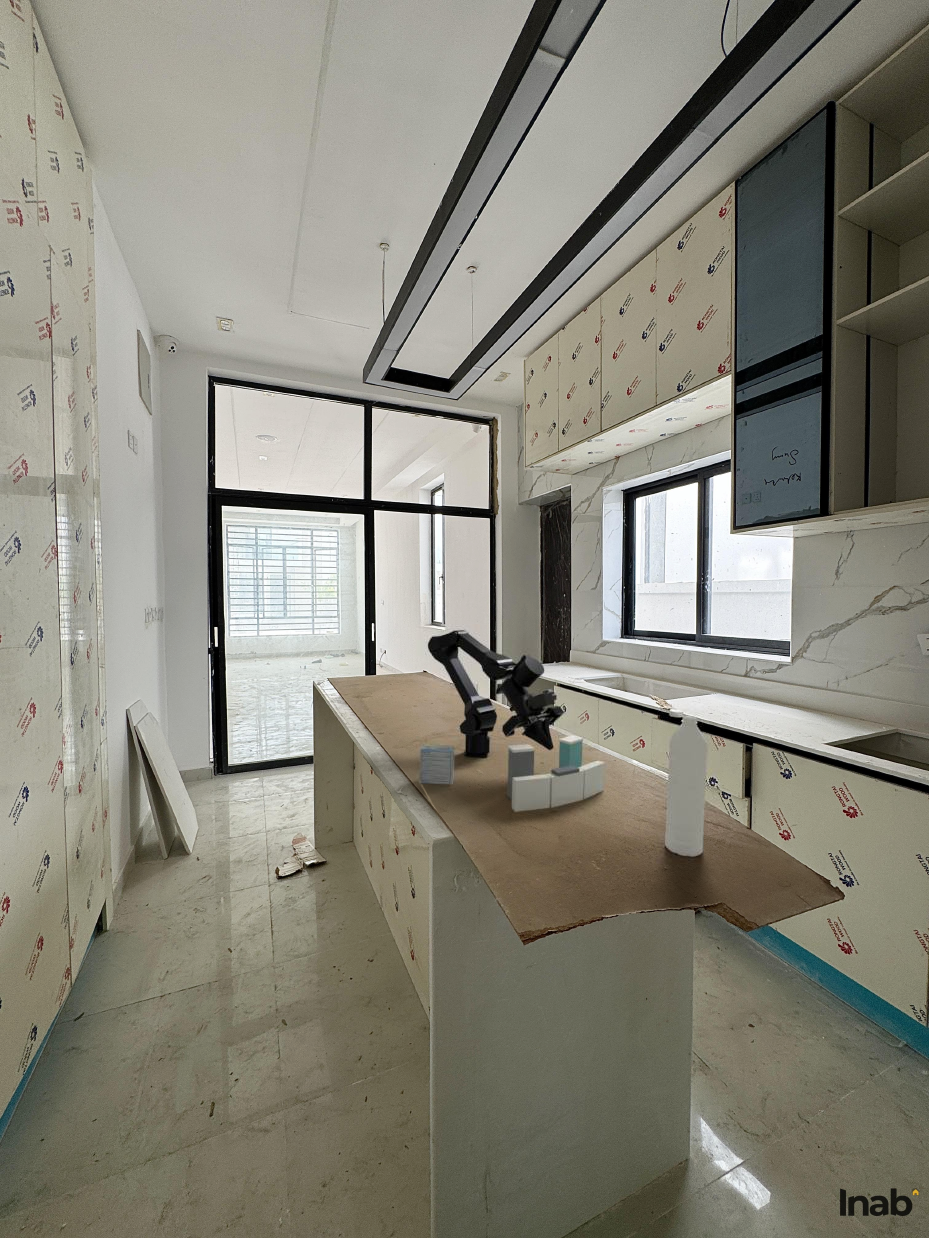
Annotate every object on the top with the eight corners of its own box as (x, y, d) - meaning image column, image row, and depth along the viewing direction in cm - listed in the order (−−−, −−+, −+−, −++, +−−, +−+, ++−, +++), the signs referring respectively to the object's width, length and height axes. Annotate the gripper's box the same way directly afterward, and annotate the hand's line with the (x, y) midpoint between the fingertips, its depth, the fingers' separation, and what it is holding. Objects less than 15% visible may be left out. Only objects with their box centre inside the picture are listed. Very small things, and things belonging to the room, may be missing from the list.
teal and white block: (557, 786, 126) (559, 739, 125) (570, 781, 130) (572, 735, 129) (568, 790, 124) (570, 742, 123) (581, 785, 127) (583, 738, 126)
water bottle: (710, 856, 95) (717, 720, 94) (677, 858, 94) (683, 721, 92) (682, 833, 104) (688, 708, 102) (651, 835, 103) (657, 709, 101)
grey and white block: (506, 795, 120) (508, 745, 119) (527, 793, 122) (529, 744, 121) (512, 800, 117) (513, 749, 116) (533, 798, 119) (534, 748, 118)
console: (521, 816, 110) (521, 780, 109) (509, 809, 113) (510, 774, 113) (610, 794, 122) (611, 761, 122) (597, 788, 126) (599, 756, 125)
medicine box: (454, 779, 130) (454, 745, 130) (451, 786, 126) (452, 751, 125) (422, 777, 131) (423, 743, 130) (419, 784, 127) (419, 749, 126)
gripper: (511, 683, 127) (546, 738, 119) (559, 675, 140) (593, 724, 132) (488, 709, 133) (520, 763, 126) (535, 699, 146) (567, 748, 138)
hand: (551, 749), depth 130 cm, fingers closed
